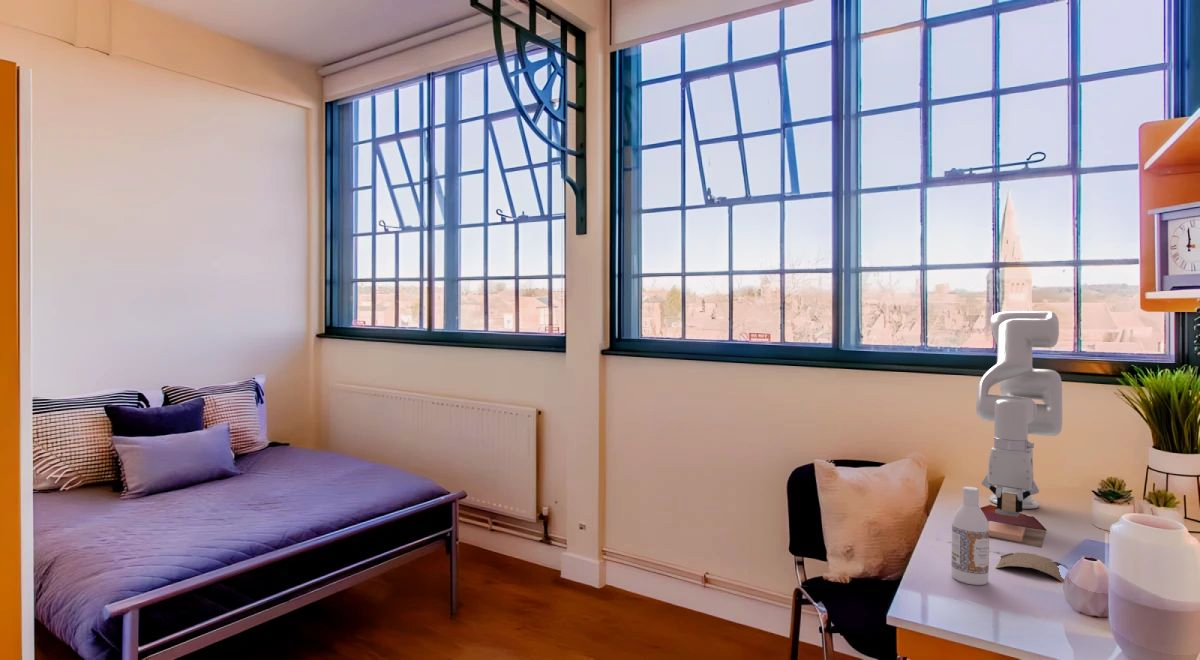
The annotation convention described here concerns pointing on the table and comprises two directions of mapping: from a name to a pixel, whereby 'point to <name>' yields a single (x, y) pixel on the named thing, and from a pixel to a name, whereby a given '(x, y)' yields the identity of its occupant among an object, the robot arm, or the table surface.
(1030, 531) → the walnut board
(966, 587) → the table surface
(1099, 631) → the table surface
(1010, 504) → the tan block
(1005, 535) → the peach flat slab
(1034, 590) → the table surface
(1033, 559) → the clay tablet
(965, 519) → the bath foam
